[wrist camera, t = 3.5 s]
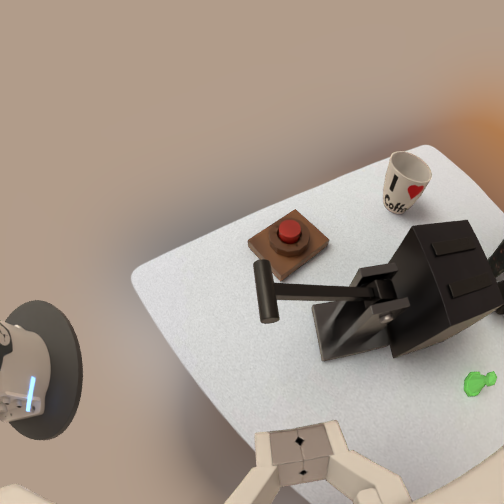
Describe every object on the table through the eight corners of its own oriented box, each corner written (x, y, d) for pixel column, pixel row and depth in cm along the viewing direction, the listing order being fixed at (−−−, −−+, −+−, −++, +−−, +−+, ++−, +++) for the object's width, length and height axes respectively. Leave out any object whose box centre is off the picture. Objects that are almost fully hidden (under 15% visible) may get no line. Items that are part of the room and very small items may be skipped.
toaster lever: (255, 325, 21) (267, 315, 19) (248, 269, 24) (259, 255, 22) (386, 320, 26) (402, 311, 24) (374, 279, 29) (388, 268, 27)
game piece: (475, 400, 27) (499, 395, 22) (460, 392, 28) (483, 386, 23) (483, 376, 29) (506, 368, 24) (468, 368, 30) (491, 359, 25)
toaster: (392, 358, 33) (452, 325, 20) (373, 284, 40) (412, 224, 27) (444, 340, 33) (506, 302, 20) (422, 274, 40) (468, 218, 27)
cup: (371, 209, 47) (386, 169, 39) (380, 183, 51) (393, 145, 42) (409, 226, 45) (430, 189, 36) (415, 199, 48) (432, 163, 40)
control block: (280, 282, 41) (281, 270, 38) (248, 246, 45) (246, 234, 42) (327, 246, 44) (331, 233, 41) (294, 216, 47) (295, 202, 44)
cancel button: (288, 247, 40) (289, 240, 39) (274, 233, 42) (274, 226, 40) (304, 236, 41) (305, 229, 40) (290, 223, 43) (290, 216, 41)
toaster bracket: (321, 361, 34) (348, 336, 23) (311, 307, 38) (329, 258, 27) (387, 346, 34) (435, 313, 23) (373, 296, 39) (411, 247, 27)
